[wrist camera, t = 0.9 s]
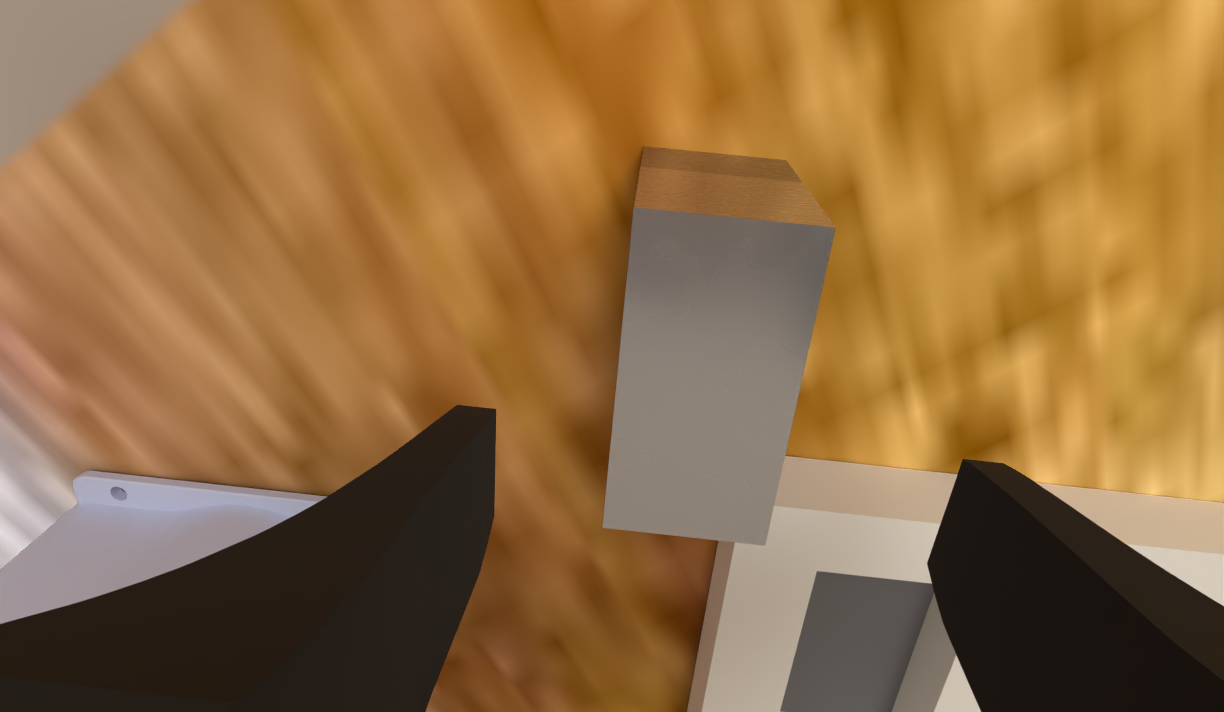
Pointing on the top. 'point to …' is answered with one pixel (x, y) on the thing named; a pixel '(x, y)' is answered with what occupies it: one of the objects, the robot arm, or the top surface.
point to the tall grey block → (712, 343)
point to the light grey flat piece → (883, 590)
